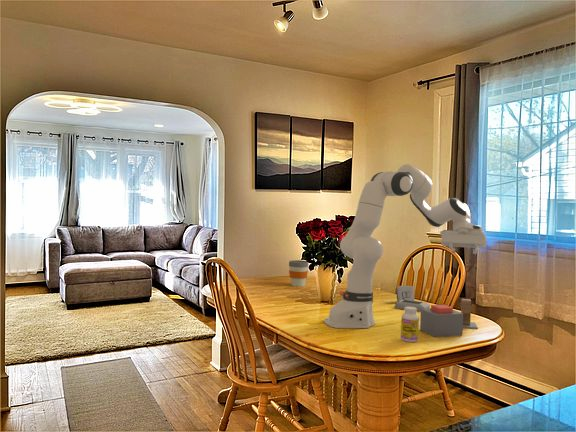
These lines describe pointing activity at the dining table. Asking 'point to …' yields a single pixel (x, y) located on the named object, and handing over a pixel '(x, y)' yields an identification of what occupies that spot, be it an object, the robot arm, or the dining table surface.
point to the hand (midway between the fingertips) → (464, 252)
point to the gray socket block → (441, 323)
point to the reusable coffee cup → (298, 272)
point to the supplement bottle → (409, 325)
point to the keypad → (412, 304)
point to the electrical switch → (405, 293)
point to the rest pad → (471, 325)
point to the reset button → (441, 309)
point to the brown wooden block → (466, 311)
